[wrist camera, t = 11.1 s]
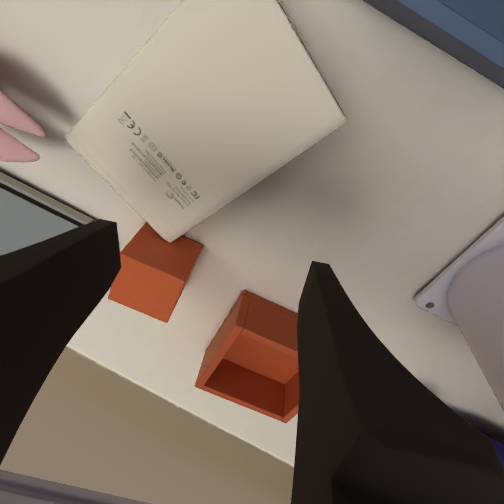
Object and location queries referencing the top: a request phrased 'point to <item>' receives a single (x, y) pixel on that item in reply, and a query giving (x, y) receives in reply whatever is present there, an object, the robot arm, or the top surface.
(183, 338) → the top surface
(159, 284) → the terracotta block
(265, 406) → the terracotta bin
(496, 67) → the blue bin
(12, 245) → the smartphone
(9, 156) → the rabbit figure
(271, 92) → the hard drive
